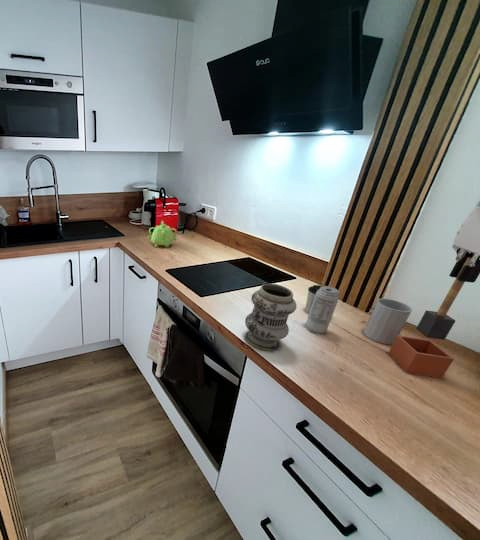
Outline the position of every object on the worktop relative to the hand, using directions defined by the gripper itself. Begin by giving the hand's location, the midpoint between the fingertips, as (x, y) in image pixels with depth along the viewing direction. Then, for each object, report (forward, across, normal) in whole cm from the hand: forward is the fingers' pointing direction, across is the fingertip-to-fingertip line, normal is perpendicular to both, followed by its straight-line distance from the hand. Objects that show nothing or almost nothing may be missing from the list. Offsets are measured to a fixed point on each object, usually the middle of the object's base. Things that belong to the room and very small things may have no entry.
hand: (461, 278), depth 70 cm
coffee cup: (+27, +24, +18) cm, 40 cm away
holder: (+27, 0, 0) cm, 27 cm away
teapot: (+27, +87, +81) cm, 122 cm away
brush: (+17, 0, 0) cm, 17 cm away
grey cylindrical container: (+27, +13, +2) cm, 30 cm away
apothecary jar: (+27, 0, +40) cm, 48 cm away
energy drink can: (+27, +12, +21) cm, 36 cm away
